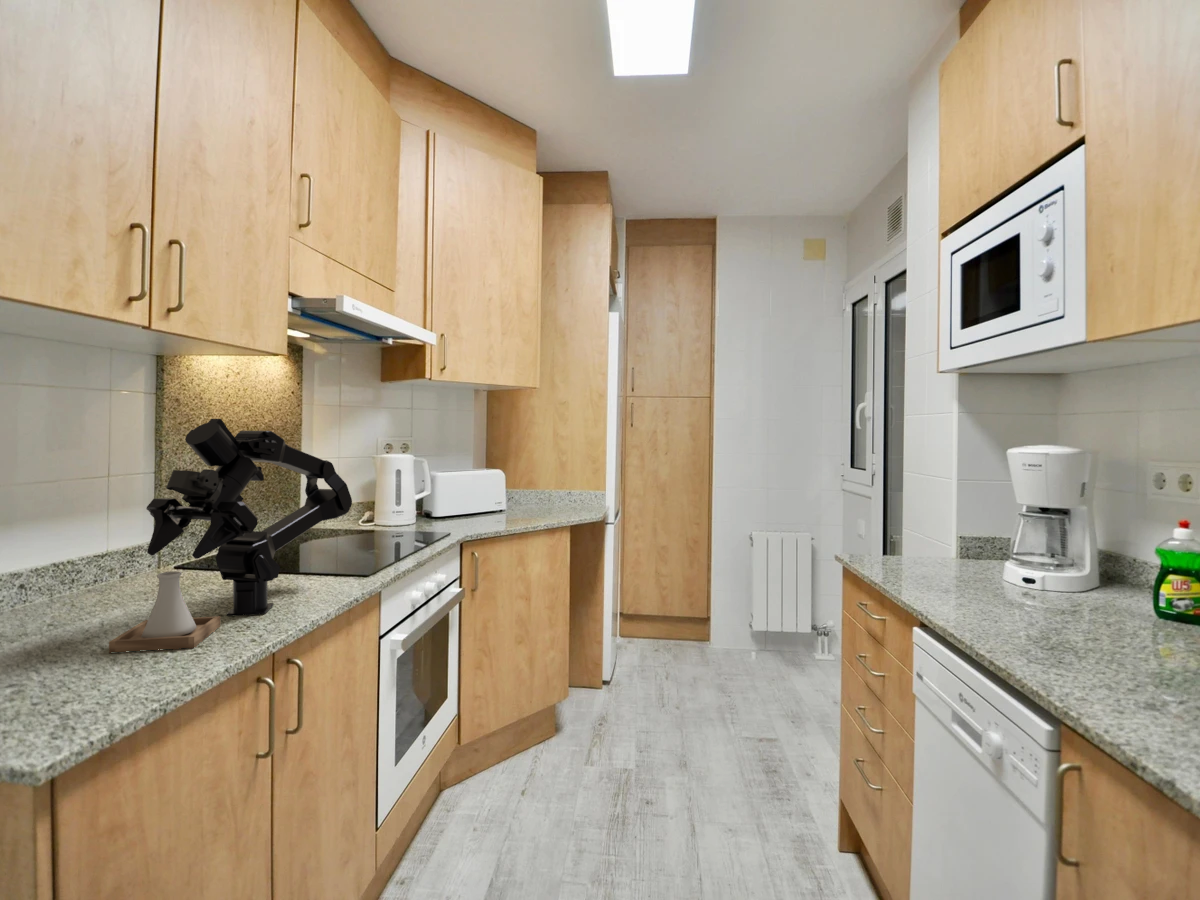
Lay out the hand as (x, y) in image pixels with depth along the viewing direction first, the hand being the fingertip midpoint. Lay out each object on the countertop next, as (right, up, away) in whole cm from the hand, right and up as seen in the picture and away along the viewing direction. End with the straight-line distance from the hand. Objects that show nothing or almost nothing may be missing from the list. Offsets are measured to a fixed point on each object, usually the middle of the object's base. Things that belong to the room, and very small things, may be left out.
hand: (171, 555), depth 104 cm
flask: (0, -13, 0) cm, 13 cm away
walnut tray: (0, -14, 0) cm, 14 cm away
